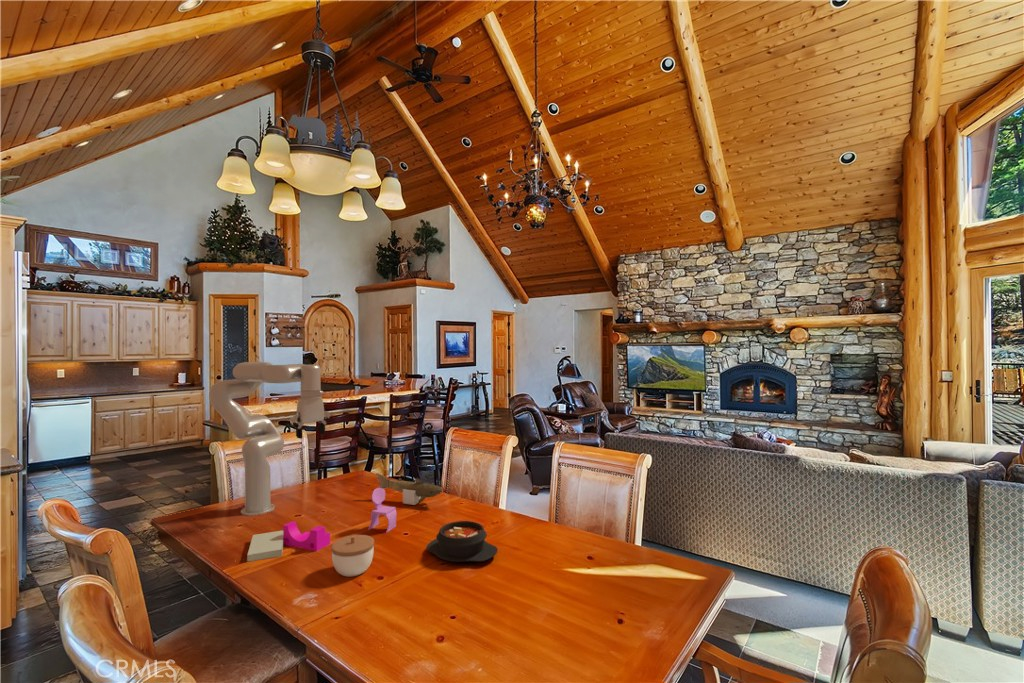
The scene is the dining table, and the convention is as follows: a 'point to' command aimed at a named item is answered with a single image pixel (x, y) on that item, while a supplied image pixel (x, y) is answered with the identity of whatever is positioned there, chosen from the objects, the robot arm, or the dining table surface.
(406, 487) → the wood carving
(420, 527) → the dining table surface
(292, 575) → the dining table surface
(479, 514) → the dining table surface
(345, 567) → the lidded bowl
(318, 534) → the toy block
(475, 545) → the casserole
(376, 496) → the toy chair
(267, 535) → the base slab
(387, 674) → the dining table surface
